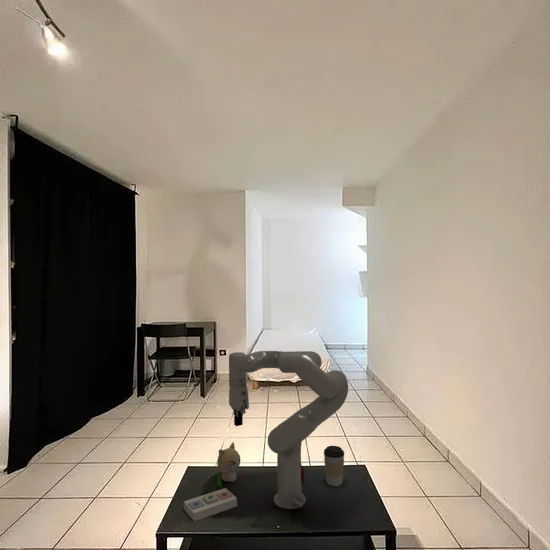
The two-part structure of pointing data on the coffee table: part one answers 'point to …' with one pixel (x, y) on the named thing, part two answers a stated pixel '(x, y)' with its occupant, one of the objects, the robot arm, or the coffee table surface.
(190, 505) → the slate blue key
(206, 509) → the keypad
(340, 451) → the coffee cup
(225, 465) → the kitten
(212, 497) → the sage key
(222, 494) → the terracotta key
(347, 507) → the coffee table surface
